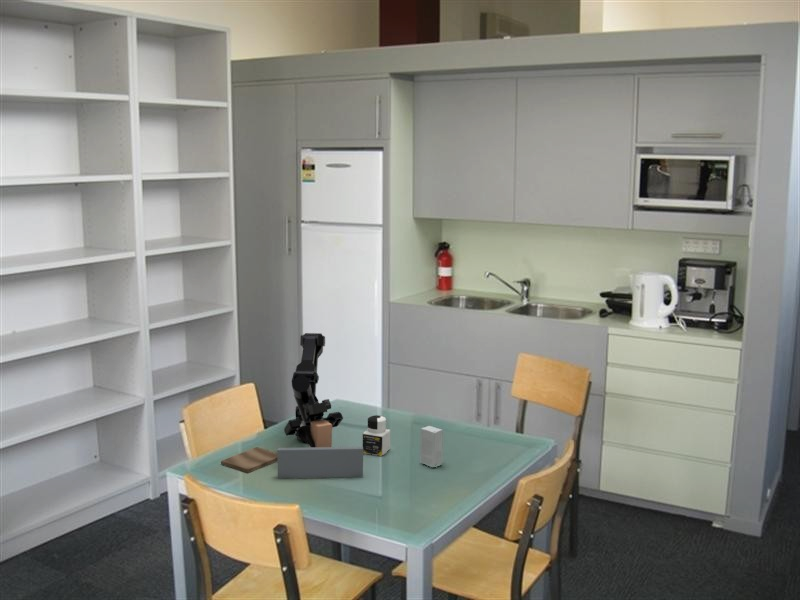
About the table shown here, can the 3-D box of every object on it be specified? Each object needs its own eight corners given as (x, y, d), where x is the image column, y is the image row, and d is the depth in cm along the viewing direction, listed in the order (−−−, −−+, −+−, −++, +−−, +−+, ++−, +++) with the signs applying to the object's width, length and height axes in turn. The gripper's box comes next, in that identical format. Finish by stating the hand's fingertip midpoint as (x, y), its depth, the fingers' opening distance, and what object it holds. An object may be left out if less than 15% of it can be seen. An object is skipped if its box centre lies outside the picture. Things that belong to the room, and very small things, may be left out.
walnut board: (257, 450, 281) (257, 447, 280) (283, 458, 274) (283, 454, 274) (221, 464, 268) (221, 460, 268) (248, 473, 261) (248, 469, 261)
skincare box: (442, 465, 270) (443, 429, 268) (433, 469, 267) (434, 432, 265) (428, 460, 274) (429, 425, 272) (419, 463, 271) (420, 428, 269)
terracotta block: (323, 461, 272) (324, 419, 269) (331, 466, 268) (332, 424, 265) (309, 464, 269) (310, 422, 267) (316, 469, 265) (317, 426, 262)
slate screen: (278, 471, 263) (278, 443, 262) (361, 469, 266) (362, 442, 264) (277, 478, 257) (277, 450, 256) (362, 476, 260) (363, 448, 258)
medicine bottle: (362, 453, 280) (362, 418, 278) (370, 446, 286) (371, 412, 284) (381, 456, 277) (382, 421, 275) (390, 449, 284) (390, 415, 282)
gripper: (287, 395, 262) (303, 440, 255) (340, 387, 272) (357, 430, 265) (277, 413, 270) (292, 456, 263) (329, 404, 280) (345, 446, 273)
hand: (322, 447), depth 266 cm, fingers closed on terracotta block, 5 cm apart
